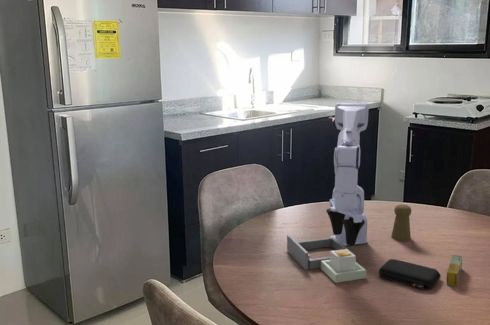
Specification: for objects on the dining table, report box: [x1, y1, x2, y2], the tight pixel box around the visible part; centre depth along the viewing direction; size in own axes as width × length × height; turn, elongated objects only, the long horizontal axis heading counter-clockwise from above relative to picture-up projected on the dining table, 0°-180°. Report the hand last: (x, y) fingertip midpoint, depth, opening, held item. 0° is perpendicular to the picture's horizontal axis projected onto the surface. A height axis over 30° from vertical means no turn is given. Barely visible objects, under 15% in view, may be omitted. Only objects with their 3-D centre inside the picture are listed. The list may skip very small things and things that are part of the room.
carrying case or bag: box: [377, 258, 442, 290], centre depth 130 cm, size 11×3×15 cm
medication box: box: [446, 254, 463, 288], centre depth 130 cm, size 12×3×4 cm, turn 152°
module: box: [329, 248, 357, 273], centre depth 132 cm, size 5×5×5 cm
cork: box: [390, 203, 412, 242], centre depth 156 cm, size 6×6×11 cm
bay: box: [320, 260, 367, 284], centre depth 133 cm, size 9×9×2 cm
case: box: [286, 234, 356, 271], centre depth 143 cm, size 15×14×5 cm
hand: (343, 239), depth 131 cm, fingers open, 7 cm apart
